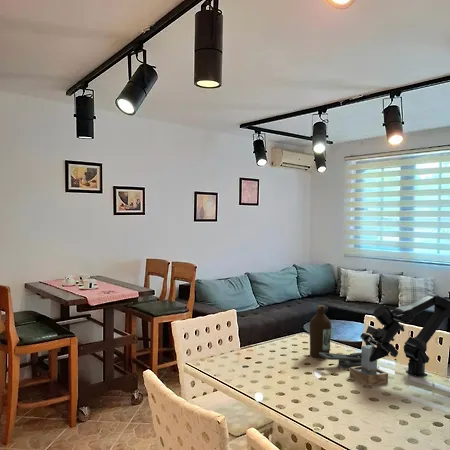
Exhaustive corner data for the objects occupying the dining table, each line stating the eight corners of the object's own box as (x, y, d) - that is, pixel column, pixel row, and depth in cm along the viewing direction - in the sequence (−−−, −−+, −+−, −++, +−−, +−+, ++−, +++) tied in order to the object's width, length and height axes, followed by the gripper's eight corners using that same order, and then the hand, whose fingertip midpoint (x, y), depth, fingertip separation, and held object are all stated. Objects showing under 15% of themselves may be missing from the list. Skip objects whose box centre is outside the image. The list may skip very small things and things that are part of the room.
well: (369, 373, 188) (370, 364, 188) (387, 382, 177) (388, 373, 177) (349, 376, 184) (349, 367, 184) (366, 385, 173) (367, 376, 173)
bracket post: (370, 370, 185) (371, 343, 185) (381, 376, 178) (381, 348, 178) (356, 372, 183) (357, 345, 182) (367, 378, 176) (367, 349, 176)
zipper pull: (316, 351, 195) (360, 347, 205) (316, 366, 196) (359, 360, 205) (328, 357, 187) (373, 352, 196) (327, 372, 187) (372, 366, 197)
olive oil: (304, 355, 210) (305, 305, 210) (316, 351, 217) (317, 302, 217) (322, 361, 202) (324, 309, 202) (334, 356, 210) (336, 306, 209)
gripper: (364, 314, 190) (342, 341, 187) (393, 325, 173) (369, 354, 169) (378, 331, 193) (357, 357, 190) (408, 342, 175) (385, 371, 172)
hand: (366, 359), depth 180 cm, fingers closed on bracket post, 4 cm apart
